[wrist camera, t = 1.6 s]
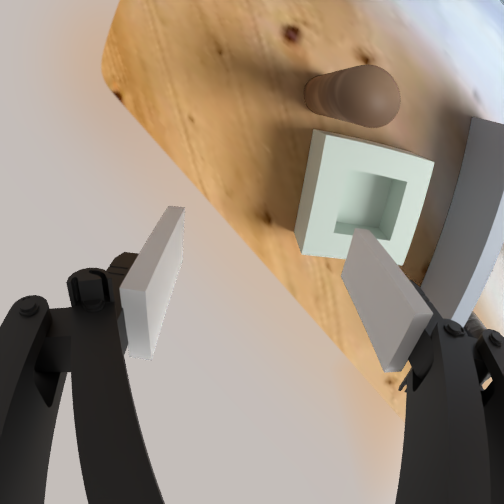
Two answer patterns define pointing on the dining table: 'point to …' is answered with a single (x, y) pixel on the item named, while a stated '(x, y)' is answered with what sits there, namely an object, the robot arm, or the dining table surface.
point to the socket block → (359, 195)
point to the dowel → (355, 96)
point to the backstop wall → (470, 226)
